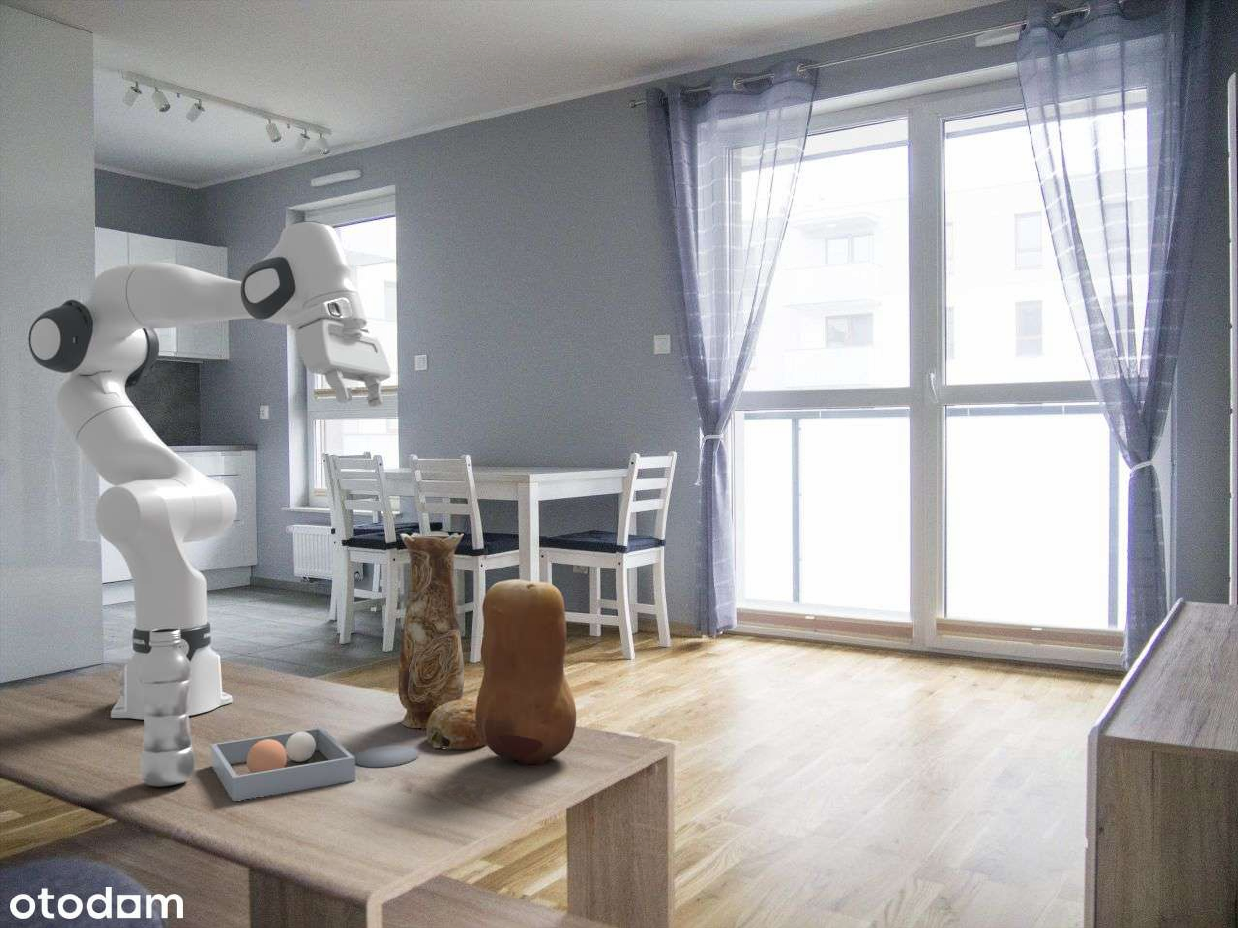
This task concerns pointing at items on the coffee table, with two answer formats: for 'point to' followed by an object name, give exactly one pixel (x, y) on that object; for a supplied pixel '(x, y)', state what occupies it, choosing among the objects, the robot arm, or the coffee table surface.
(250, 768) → the terracotta ball
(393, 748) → the pad
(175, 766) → the plastic bottle
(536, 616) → the butternut squash
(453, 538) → the vase
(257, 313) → the robot arm
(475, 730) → the bread roll
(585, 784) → the coffee table surface
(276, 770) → the grey square frame
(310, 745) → the cream ball
